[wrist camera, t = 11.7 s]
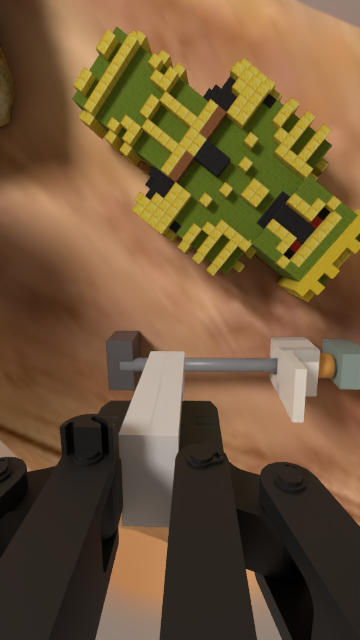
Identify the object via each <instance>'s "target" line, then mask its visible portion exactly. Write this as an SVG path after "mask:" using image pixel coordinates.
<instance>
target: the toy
mask: <svg viewBox="0 0 360 640" xmlns="http://www.w3.org/2000/svg"><path fill="white" fill-rule="evenodd" d="M96 49H97V51H98V53H99V56H98V58H97V59H96V61H95V62H94V64H93V66H92V67H91V69H90V71H89V70H88V69H86V68H85V67H84V68H83V70H82V72H81V73H80V75H79V77H78V78H77V80H76V82H75V83H74V87H75V88H76V89H77V92H76V93H75V95H74V97H73V98H72V99H73V100H74V101H75V102H76V104H77V105H78V106H79V107H80V108H81V109H82V110H83V111H82V113H81V114H80V116H79V117H78V118H79V119H80V120H81V121H82V122H83V123H84V124H85V125H86V126H88V127H89V128H90V129H91V130H92V131H93V132H94V133H95V134H97V135H98V136H99V137H100V138H101V139H103V138H104V136H105V135H106V136H105V139H106V140H107V141H108V142H109V143H110V144H111V146H112V147H113V148H114V149H115V150H116V151H117V152H119V153H120V154H121V155H122V156H123V155H124V156H125V157H126V158H127V159H128V160H129V161H130V162H131V163H132V164H133V165H135V166H137V165H138V163H139V162H140V160H141V161H144V162H145V163H146V164H147V165H149V166H150V167H151V168H152V171H151V172H150V173H149V175H150V176H151V177H150V179H149V180H148V181H147V183H146V184H145V185H146V186H147V187H149V188H150V190H149V191H148V193H147V194H146V195H145V196H144V195H143V194H142V193H139V194H138V196H137V197H136V198H135V201H137V203H136V205H135V206H134V208H133V209H132V211H133V212H134V213H136V214H137V215H138V216H139V217H140V218H142V219H143V220H144V221H145V222H147V223H148V224H149V225H150V226H152V227H153V228H154V229H155V230H156V231H158V232H159V233H160V234H161V235H164V236H165V237H166V238H168V239H169V240H170V241H171V242H175V240H176V239H177V238H178V237H179V236H180V237H181V238H182V239H183V240H182V241H181V243H180V244H179V245H178V248H179V249H181V250H182V251H183V252H184V253H189V252H190V250H191V249H192V248H194V249H196V250H197V252H196V254H195V255H194V256H193V258H192V259H193V260H194V261H195V262H197V263H198V264H202V262H203V261H204V260H205V258H207V259H208V260H209V261H210V262H212V264H211V265H210V266H209V267H208V268H207V270H206V271H208V272H209V273H210V274H211V275H213V276H214V275H215V273H216V272H217V271H218V270H219V269H220V270H221V271H223V272H224V273H225V274H226V275H227V273H228V272H229V271H230V270H231V268H234V269H235V270H236V271H237V272H240V271H241V270H242V269H243V268H244V266H245V265H244V264H243V263H241V262H240V261H239V259H240V257H241V256H242V255H243V254H244V255H245V256H246V257H248V258H249V259H250V258H252V257H253V256H254V254H255V255H256V256H257V257H258V258H260V259H261V260H262V261H263V262H264V263H266V264H267V265H268V266H269V267H271V268H272V269H273V270H274V271H276V272H277V273H278V274H279V275H280V276H282V278H281V279H280V280H279V281H278V282H277V284H278V285H279V286H280V287H282V288H283V289H285V290H286V291H287V292H288V293H290V294H292V295H294V296H296V297H298V298H301V299H302V300H303V299H304V300H305V301H307V302H309V300H310V299H311V298H312V297H313V296H314V295H319V294H320V292H321V291H322V290H323V289H324V288H325V287H324V286H323V285H324V284H325V283H326V282H327V281H328V279H333V278H334V277H335V276H336V275H337V274H338V273H339V272H340V270H338V268H339V267H340V266H341V265H342V264H343V263H344V262H345V261H346V260H347V258H348V257H349V256H350V255H351V254H356V253H357V252H358V251H359V249H360V209H358V210H356V211H352V210H351V209H350V208H348V207H347V206H346V205H345V204H343V203H342V202H341V201H340V200H339V199H337V198H336V197H335V196H334V195H333V194H331V193H330V192H329V191H328V190H326V189H325V188H324V187H323V186H322V185H320V184H319V183H318V182H317V179H318V176H319V175H320V174H321V173H322V172H323V171H324V170H325V169H326V168H327V166H328V165H329V163H328V162H327V161H326V160H324V159H323V158H322V157H323V156H324V155H325V154H326V153H327V151H328V150H329V149H330V148H331V146H332V145H331V144H330V143H329V142H327V141H326V140H325V138H326V137H327V135H328V134H329V133H330V131H331V129H330V128H329V127H327V126H326V125H325V124H323V125H322V126H321V127H320V129H319V130H318V131H317V132H315V131H314V130H313V129H312V128H310V127H309V126H310V125H311V123H312V122H313V120H314V119H315V116H314V115H313V114H312V113H310V112H309V111H307V112H306V113H305V115H303V116H302V117H301V118H300V119H299V118H298V117H297V116H296V115H295V112H296V110H297V108H298V106H299V104H300V103H298V102H297V101H296V100H295V99H293V98H291V99H290V100H289V101H288V102H286V103H285V105H283V104H281V103H280V99H281V97H282V95H281V94H279V93H278V92H277V91H276V90H275V89H274V88H275V85H276V84H275V83H274V82H273V81H272V80H270V79H269V78H268V77H267V76H266V75H264V74H263V73H262V72H261V71H260V70H258V69H257V68H256V67H255V66H254V65H252V64H251V63H250V62H249V61H247V60H246V59H245V58H243V59H242V61H241V62H238V61H237V62H236V64H235V65H234V66H233V68H232V69H231V73H230V77H229V79H228V80H227V82H226V83H225V84H224V86H223V87H222V89H221V88H220V87H219V86H217V85H215V86H214V88H213V89H212V90H211V89H210V88H209V89H208V91H207V92H206V94H205V95H204V97H202V96H201V95H200V94H198V93H197V92H196V91H195V90H193V89H192V88H191V87H190V86H189V84H188V79H187V73H186V69H185V68H184V67H183V66H182V65H180V64H179V63H177V64H176V66H175V67H174V69H173V66H172V62H171V58H170V55H168V54H167V53H166V52H165V51H163V50H161V52H160V53H159V55H156V54H155V53H153V55H152V52H151V49H150V46H149V43H148V40H147V37H146V36H145V35H144V34H143V33H142V32H140V31H139V30H138V31H137V33H136V32H135V31H132V33H129V34H128V35H127V34H125V33H124V32H123V31H122V30H120V29H119V28H118V27H116V28H115V30H114V31H113V33H112V32H111V31H109V30H108V29H107V31H106V32H105V34H104V36H103V37H102V39H101V40H100V42H99V44H98V45H97V47H96ZM106 133H107V134H106Z"/></svg>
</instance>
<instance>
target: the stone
mask: <svg viewBox="0 0 360 640" xmlns="http://www.w3.org/2000/svg"><path fill="white" fill-rule="evenodd" d="M13 102H14V80H13V77H12V75H11V73H10V70H9V66H8V63H7V60H6V58H5V56H4V53H3V51H2V49H1V45H0V127H1V126H3V125H6V124H8V123H10V122H11V116H10V111H11V106H12V104H13Z"/></svg>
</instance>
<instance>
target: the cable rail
mask: <svg viewBox="0 0 360 640" xmlns="http://www.w3.org/2000/svg"><path fill="white" fill-rule="evenodd" d="M106 349H107V364H108V379H109V390H135V387H136V385H137V383H138V381H139V379H140V377H141V371H143V370H144V367H145V365H146V362H147V360H148V358H140V340H139V331H116V332H115V333H114V334H113V335H112V336H111V337H110V338H109V339H108V340H107V341H106ZM277 366H278V358H185V372H277ZM318 378H330V379H331V380H332V381H333V382H334V383H335V384H336V385H337V387H338V388H339V389H360V346H359V345H357V344H355V343H354V342H352V341H351V340H349V339H323V348H322V353H320V358H319V371H318Z"/></svg>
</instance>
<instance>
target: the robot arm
mask: <svg viewBox="0 0 360 640" xmlns="http://www.w3.org/2000/svg"><path fill="white" fill-rule="evenodd" d="M184 376H185V352H175V351H151V352H150V354H149V357H148V360H147V362H146V365H145V367H144V370H143V372H142V375H141V378H140V380H139V383H138V385H137V388H136V391H135V393H134V396H133V398H132V401H110V402H109V403H107V404H106V405H104V406H103V407H102V408H101V410H100V411H99V413H98V414H85V415H80V416H77V417H73V418H71V419H69V420H67V421H65V422H64V423H63V424H62V425H61V426H60V435H61V446H62V458H61V459H60V461H59V463H58V464H57V466H54V467H50V468H46V469H41V470H35V471H30V472H27V467H26V464H25V463H24V461H23V460H21V459H19V458H16V457H3V458H0V640H95V638H96V634H97V630H98V625H99V622H100V617H101V613H102V609H103V605H104V601H105V597H106V593H107V589H108V584H109V580H110V576H111V572H112V568H113V564H114V560H115V555H116V551H117V548H118V543H119V542H118V541H119V534H118V524H119V520H120V516H121V513H122V524H123V526H147V527H169V536H168V548H167V560H166V571H165V583H164V595H163V606H162V618H161V630H160V640H257V637H256V631H255V624H254V618H253V612H252V606H251V599H250V593H249V587H248V580H247V574H246V569H248V570H251V571H254V572H255V576H256V580H257V582H258V585H259V587H260V589H261V592H262V594H263V596H264V599H265V601H266V603H267V606H268V608H269V610H270V612H271V615H272V617H273V619H274V622H275V624H276V626H277V628H278V631H279V633H280V636H281V638H282V640H360V526H359V525H358V524H357V523H356V522H355V520H354V519H353V518H352V517H351V516H350V515H349V514H348V512H347V511H346V510H345V509H344V508H343V507H342V506H341V504H340V503H339V502H338V501H337V500H336V499H335V498H334V497H333V495H332V494H331V493H330V492H329V491H328V490H327V489H326V487H325V486H324V485H323V484H322V483H321V482H320V481H319V479H318V478H317V477H316V476H315V475H314V474H312V473H311V472H310V471H309V470H307V469H305V468H303V467H301V466H299V465H296V464H292V463H288V462H275V463H272V464H269V465H267V466H265V467H264V468H263V469H262V470H261V474H260V475H258V474H254V473H250V472H247V471H244V470H241V469H239V468H237V467H235V466H234V465H232V464H231V463H230V462H229V461H228V458H227V456H226V454H225V453H224V451H223V444H222V437H221V431H220V425H219V418H218V410H217V408H216V407H215V406H214V405H213V404H212V402H211V401H184Z"/></svg>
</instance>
